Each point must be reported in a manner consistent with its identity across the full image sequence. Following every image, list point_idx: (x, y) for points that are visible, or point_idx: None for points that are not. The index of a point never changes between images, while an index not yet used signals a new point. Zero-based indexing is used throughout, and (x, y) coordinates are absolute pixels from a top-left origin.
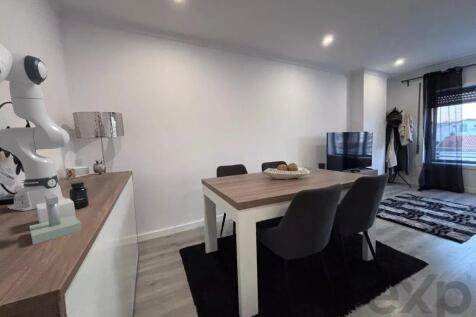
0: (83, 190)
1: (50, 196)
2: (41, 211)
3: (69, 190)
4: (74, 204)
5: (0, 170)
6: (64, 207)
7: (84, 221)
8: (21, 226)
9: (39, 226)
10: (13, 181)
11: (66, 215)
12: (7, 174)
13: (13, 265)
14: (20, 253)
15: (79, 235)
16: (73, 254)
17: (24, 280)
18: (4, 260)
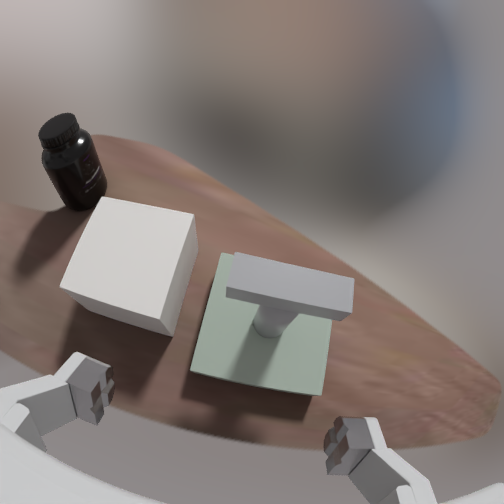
0: (91, 142)
1: (301, 287)
2: (163, 314)
3: (48, 165)
4: (86, 197)
5: (21, 424)
6: (185, 249)
7: (252, 249)
8: None
9: (236, 356)
10: (377, 424)
11: (189, 262)
12: (61, 389)
13: (397, 437)
14: None
15: (362, 306)
16: (446, 349)
17: (463, 419)
18: None
